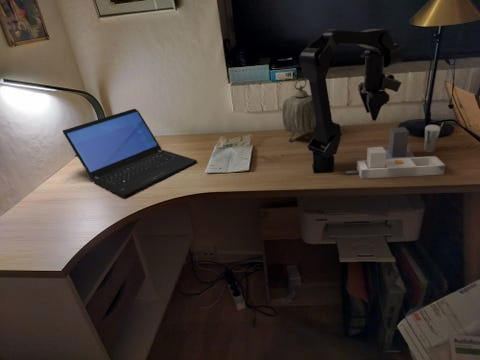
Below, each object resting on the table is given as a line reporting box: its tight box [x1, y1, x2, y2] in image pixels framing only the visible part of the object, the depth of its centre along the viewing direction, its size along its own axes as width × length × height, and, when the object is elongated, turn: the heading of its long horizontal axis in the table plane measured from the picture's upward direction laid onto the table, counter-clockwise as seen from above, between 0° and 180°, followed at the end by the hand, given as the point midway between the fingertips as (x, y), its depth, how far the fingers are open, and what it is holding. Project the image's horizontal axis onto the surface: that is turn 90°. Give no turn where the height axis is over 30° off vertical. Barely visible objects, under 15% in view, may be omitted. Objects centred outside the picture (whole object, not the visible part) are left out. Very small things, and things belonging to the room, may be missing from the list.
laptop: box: [62, 108, 198, 198], centre depth 129 cm, size 33×38×19 cm
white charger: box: [366, 146, 386, 169], centre depth 105 cm, size 4×4×8 cm
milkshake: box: [423, 121, 444, 153], centre depth 114 cm, size 4×5×10 cm
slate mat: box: [384, 147, 416, 159], centre depth 115 cm, size 10×10×1 cm
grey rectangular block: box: [388, 126, 410, 158], centre depth 113 cm, size 4×4×9 cm
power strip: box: [345, 155, 446, 179], centre depth 105 cm, size 28×7×4 cm, turn 83°
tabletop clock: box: [281, 77, 316, 142], centre depth 135 cm, size 14×9×25 cm, turn 133°
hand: (371, 116), depth 116 cm, fingers open, 9 cm apart
